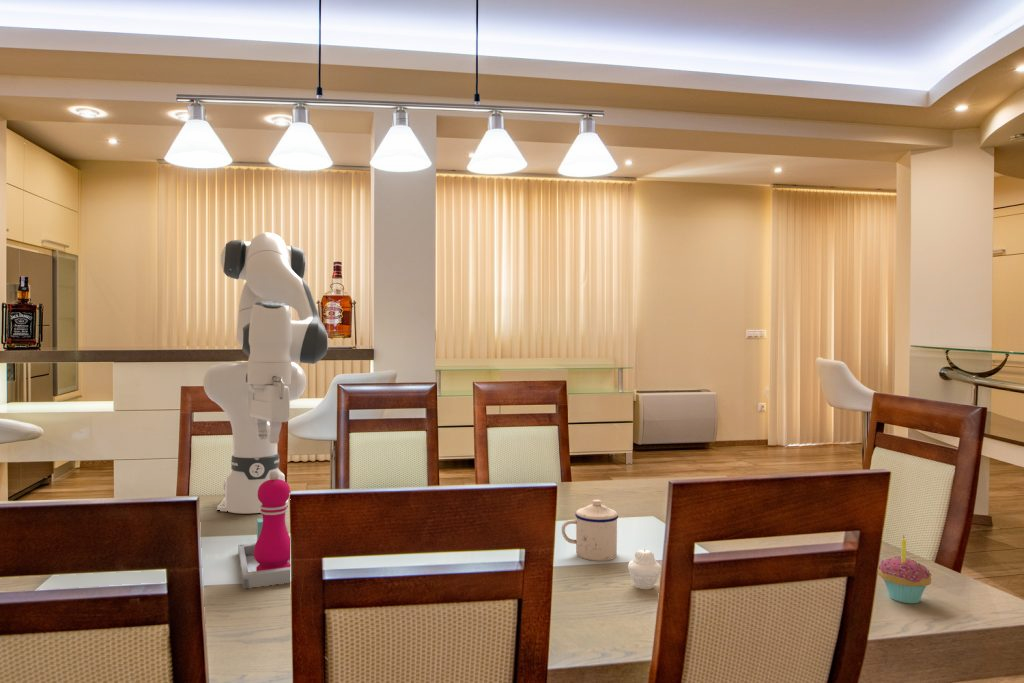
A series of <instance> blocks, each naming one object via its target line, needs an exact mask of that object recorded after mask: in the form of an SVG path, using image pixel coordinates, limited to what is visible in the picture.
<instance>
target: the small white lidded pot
mask: <svg viewBox="0 0 1024 683" xmlns="http://www.w3.org/2000/svg"><path fill="white" fill-rule="evenodd" d="M627 570H628V571H629V576H630V578H631V580H632V581H633V584H634V586H635V588H637V589H640V590H650V589H652V588H654V586H655V584H656V583H657V580H658V579H659V577H660V573H661V571H662V567H661V564H659V562H658V561H657V560H656V558H655V555H654V552H652V551H651V550H649V549H639V550H637V551H636V552H635V553H634V557H633V558H632V560H630V561H629V563H628V564H627Z"/></svg>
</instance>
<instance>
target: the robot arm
mask: <svg viewBox="0 0 1024 683" xmlns="http://www.w3.org/2000/svg"><path fill="white" fill-rule="evenodd" d="M305 253H306V252H304V250H303V249H302V248H299V247H297V246H293V245H290V246H289V245H287V244H286V241H285V240H284V239H283V238H282V237H281V236H279V235H278V234H276V233H274V232H262V233H259V234H257V235H255V236H254V237H253V238H252V239H251V241H250V240H246V241H245V240H244V241H243V240H242V239H236V240H234V239H233V240H229V241H228V242H226V243H225V246H224V247H223V249H222V251H221V254H220V265H221V268H222V270H223V273H224V275H225V276H226V277H228V278H230V279H234V280H240V279H241V280H244V281H246V282H244V284H243V287H242V290H241V295H240V298H239V304H238V314H237V315H238V316H237V328H236V329H237V330H236V340H237V342H238V344H239V345H240V346H241V347H242V348H241V351H242V352H243V353H244V355H245V356H247V357H248V360H247V361H229V362H221V363H217V364H213V365H211V366H210V367H209V368H208V369H207V371H206V372H205V374H204V377H203V381H202V382H203V383H202V384H203V390H204V393H205V394H206V396H207V398H209V399H210V400H211V401H212V402H214V403H215V404H217V405H218V406H219V407H220V408H221V409H222V411H223V412H224V413H225V415H226V416H227V418H228V419H229V423H230V427H231V430H232V431H231V433H232V443H233V444H232V445H233V446H232V447H233V448H232V453H233V454H232V456H231V460H230V464H231V472H230V474H229V475H227V477H226V478H225V481H223V491H224V493H223V499H222V500H221V502H220V503H219V504H217V507H216V511H217V510H220V511H219V512H227V511H228V512H227V513H232V514H244V515H245V514H259V513H260V511H261V508H260V506H261V505H262V503H261V502H260V501H259V499H258V495H257V494H258V489H259V487H260V485H261V484H262V483H263V482H265V481H267V480H270V477H269V475H270V473H271V472H273V471H276V472H278V474H279V478H278V479H280V480H283V481H285V482H286V479H285V478H286V476H285V474H284V473H283V472H282V471H281V470H280V468H279V467H280V454H279V452H278V443H279V442H280V433H281V429H282V423H287V422H289V420H290V416H291V415H290V413H291V409H290V404H291V401H296V400H299V399H300V398H301V397H302V395H303V394H304V392H305V391H306V387H307V385H308V384H307V382H308V381H307V376H306V373H305V370H304V369H303V368H302V366H300V364H302V363H303V364H311V365H315V364H316V363H318V362H319V361H321V360H322V359H323V358H324V357H325V356H326V355H327V353H328V350H329V336H328V332H327V328H326V327H325V324H324V323H323V322H322V319H321V317H320V314H319V312H318V309H317V306H316V303H315V300H314V297H313V294H312V291H311V290H310V286H309V285H308V283H307V281H306V280H305V279H304V277H305V275H306V273H307V269H308V261H307V257H306V254H305ZM291 308H292V309H294V310H295V311H296V313H297V315H298V318H299V320H293V319H292V314H291ZM298 363H300V364H298ZM286 503H287V505H288V500H287V501H286ZM288 506H289V505H288ZM260 514H261V513H260Z"/></svg>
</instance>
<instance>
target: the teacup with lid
mask: <svg viewBox="0 0 1024 683" xmlns="http://www.w3.org/2000/svg"><path fill="white" fill-rule="evenodd" d="M574 515H575V516H574V517H575V519H569V520H566V521H564V522H563V524H562V525H561V534H562V537H563V538H564V540H565V541H566V542H568V543H570V544H575V553H576V555H577V557H579V558H581V559H584V560H588V561H594V562H601V561H602V562H603V561H610V560H613V559H614V558H616V557H617V554H618V553H617V551H618V550H617V549H618V546H617V545H618V519H619V514H618V513H617V511H616V510H614V509H612V508H609V507H608V506H607V505H604V504H602V500H601V499H593V500H592V501H591V504H588V505H586V506H585V507H580V508H578V509H577V510H576V511H575V514H574ZM572 524H573V525H575V526H576V527H575V528H576V530H575V531H576V532H575V533H576V534H575V535H576V536H575V538H576V539H572V538H569V537H568V536H567V534H566V527H567V526H568V525H572Z"/></svg>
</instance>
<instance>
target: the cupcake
mask: <svg viewBox="0 0 1024 683" xmlns="http://www.w3.org/2000/svg"><path fill="white" fill-rule="evenodd" d="M906 545H907V539H906V538H905V534H903V535H902V538H901V557H898V556H897V557H896V556H894V557H891V558H886V559H884V560H882V561H881V562H880V563H879V564H878V565H879V570H878V569H877V570H878V574H877V575H878V576H879V577H881V578H882V580H883V582H884V584H885V586H886V590H887V592H888V596H889V598H890V599H892V600H894V601H897V602H899V603H903V604H918V603H920V602H921V599H922V596H923V594H924V592H925V590H926V588H927V586H930V585H931V584H932V577H931V576H932V573H931V572H930V570H929V569H928V568H927V567H925V565H923V564H921V563H920V562H917V561H916V560H914V559H911V558H906V555H907V551H906V550H907V546H906Z"/></svg>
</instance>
